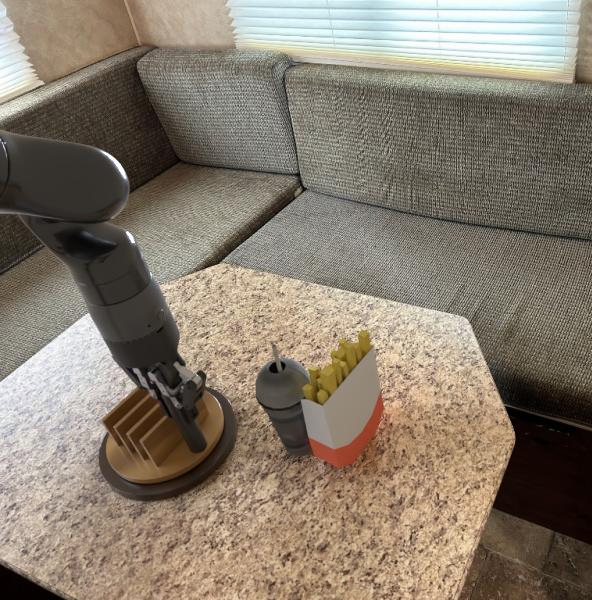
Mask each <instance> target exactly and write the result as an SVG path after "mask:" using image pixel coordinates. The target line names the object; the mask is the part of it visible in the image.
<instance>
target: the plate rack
mask: <svg viewBox="0 0 592 600" xmlns="http://www.w3.org/2000/svg"><path fill="white" fill-rule="evenodd" d="M182 392H183V389H181V390H180V391H179V392H178V396H179V395H180V394H181V393H182ZM161 396H162V398H163V400H164V402H165V403H166V405H167V407H168V409H169V411H170V413H171V415H172V418H169V417H167V416H165V414H164V412H163V411H162V409H161V407H160V405H159V403H158V401H157V399H154V398H152V397H151V395H150V393H149V391H148V390H146V391H142V390H140V389H139V388H138V387H137V386H136V387H135V388H134V389H133V390H132V391H131V392H130V393H128V394H127V396H125V397H124V398H123V399H122V400H121V401H120V402H119V403H118V404H117V405H115V406H114V407H113V408H112V409H111V410H110V411H109V412H108V413H106V415H104V416H103V417H102V418H101V419H100V422H101V424H102V425H103V426H104V428H105V430H106V432H107V431H108V433H109V437H108V440H107V445H106V454H107V459H108V461H109V463H110V465H111V467H112V468H113V470H114V471H115V472H116V473H117V474H118V475H119V476H121V477H122V478H124V479H126V480H128V481H132V482H135V483H158V482H163V481H167V480H170V479H173V478H175V477H178V476H180V475H182V474H184V473H186V472H188V471H189V470H191V469H192V468H194V467H195V466H197V465H198V464H199V463H200V462H202V461H203V460H204V459H205V458H206V457H207V456H208V455H209V454H210V452H211V451H212V450H213V449H214V447H215V446H216V444H217V443H218V441H219V439H220V437H221V434H222V431H223V426H224V416H223V411H222V409H221V406H220V404H219V402H218V401H217V399H216V398H215V397H214V396H213V395H211V394H210V393H209V392H207V391H204V396H203V397H202V398H201V399H200V400H199V401H198V402H197V403H196V404H195V405H196V407H197V409H198V412H199V416H198V417H197V418H196V419H195V420H194V421H193V422H192V424H191V425H189V426H188V425H185V424H183V422H182V420H181V419H180V417H179V415H178V413H177V411H176V409H175V406H174V404H173V403H172V401H171V399H170V398H169V397H167V396H164V395H163V394H162V392H161Z"/></svg>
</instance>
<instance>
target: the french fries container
mask: <svg viewBox="0 0 592 600" xmlns="http://www.w3.org/2000/svg"><path fill="white" fill-rule="evenodd" d="M370 335H371V334H370V331H368V330H364V329H361V330H360V331H359V332H358V334H357V339H358V342H356V341H353V342H349V341H348V340H347V339H346V338H344V337H342V338H341V339H339V340H338V345H339V347H340V348H338V349H332V351H331V352H330V353H329V354H330V358H331V363H329V364H328V365H324V366H323V368H321V370H320V368H319V367H318V366H315V365H311V366H310V367H308V374H309V376H310V382H311V386H310V385H309V384H306V385H305V386H304V387H303V388H302V389H303V392H304V395H305V397H306V399H301V404H302V409H303V414H304V419H305V423H306V428H307V433H308V438H309V441H310V444H311V447H312V453H313V456H315V457H316V458H319V459H320V460H322V461H324V462H325V463H326V462H327V463H329V464H330V465H332V466H334V467H336V468H343V467H346V466H349V465H352V464H354V463H355V462H356V461H357V460H358V458H359V457H360V455H361V454H362V453H363V451H364V450H365V449H366V447H367V446H368V445H369V443H370V442H371V440H372V439H373V438H374V437H375V435H376V434H377V431H378V428H379V425H380V421H381V419H382V416H383V413H384V410H385V406H384V401H383V395H382V388H381V382H380V376H379V368H378V363H377V358H376V353H375V346H374V345H373V344H371V336H370Z"/></svg>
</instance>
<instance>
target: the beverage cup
mask: <svg viewBox="0 0 592 600" xmlns="http://www.w3.org/2000/svg"><path fill="white" fill-rule="evenodd" d="M271 348H272V352H273V356H274V359H272V360H270V361H268V362H267V363H265V364H264V365H263V366H262V367H261V369H260V370H259V371H258V373H257V376H256V379H255V383H254V384H255V385H254V386H255V399H256V401H257V403H258V404H259V405H260V406H261V408H262V409H263V411H264V412H265V413H266V414H267V416H268V419H269V420H270V423H271V424H272V426H273V428H274V430H275V432H276V433H277V436H278V438H279V439H280V441H281V444H282V445H283V447H284V448H285V450H286V452H287V453H288V455H290V456H293V457H305V456H307V455H309V454H311V453H313V451H312V447H311V444H310V441H309V438H308V433H307V428H306V423H305V419H304V414H303V409H302V404H301V399H306V397H305V395H304V392H303V389H302V388H303V387H304V386H305V385H306V384H309V385H310V386H311V382H310V376H309V372H308V371H307V370H306V368H305V367H304V365H302V364H301V363H300V362H298V361H296V360H295V359H292V358H288V357H280V356H279V351H278V348H277V344H271Z"/></svg>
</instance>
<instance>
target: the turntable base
mask: <svg viewBox="0 0 592 600" xmlns="http://www.w3.org/2000/svg"><path fill="white" fill-rule="evenodd" d="M205 391H207V392H209V393H210V394H211V395H213V396H214V397H215V398H216V399H217V401H218V402H219V404H220V406H221V409H222V411H223V416H224V426H223V431H222V434H221V437H220V439H219V441H218V443H217V444H216V446H215V447H214V449H213V450H212V451H211V452H210V454H209V455H208V456H207V457H206V458H205V459H204V460H203V461H202V462H200V463H199V464H198V465H197V466H195V467H194V468H192V469H191V470H189V471H188V472H186V473H184V474H182V475H180V476H178V477H175V478H173V479H170V480H167V481H163V482H158V483H135V482H132V481H128V480H126V479H124V478H122V477H121V476H119V475H118V474H117V473H116V472H115V471H114V470H113V468H112V467H111V465H110V463H109V461H108V459H107V454H106V445H107V440H108V437H109V433H108V431H107V430H106V433H105V435H104V436H103V438H102V441H101V443H100V447H99V450H98V467H99V471H100V474H101V475H102V477H103V479H104V481H105V482H106V483H107V485H108V486H109V487H110V488H111V490H113V491H114V492H115V494H117V495H119V496H121V497H123V498H126V499H129V500H132V501H137V502H157V501H163V500H168V499H171V498H175V497H178V496H180V495H182V494H185V493H187V492H190V491H191V490H193V489H195V488H196V487H198V486H200V485H202V484H203V483H204V482H205V481H207V480H208V479H210V478H211V477H212V476H213V475H214V474H215V473H216V472H217V471H218V470H219V469H220V468H221V467H222V465H223V464H224V463H225V462H226V461H227V459H228V458H229V456H230V454H231V452H232V450H233V449H234V446H235V444H236V441H237V436H238V432H239V431H238V429H239V424H238V423H239V422H238V418H237V414H236V412H235V409H234V407H233V405H232V403H231V402H230V400H229V399H228V397H226V396H225V395H224V394H223V393H222V392H221V391H219V390H217V389H215V388H212V387H210V386H206V385H205Z"/></svg>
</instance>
